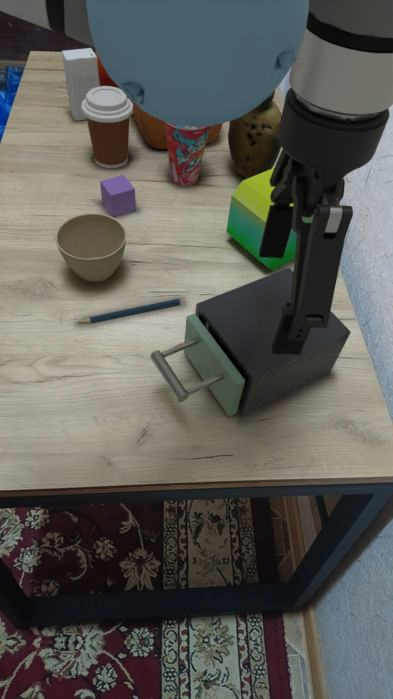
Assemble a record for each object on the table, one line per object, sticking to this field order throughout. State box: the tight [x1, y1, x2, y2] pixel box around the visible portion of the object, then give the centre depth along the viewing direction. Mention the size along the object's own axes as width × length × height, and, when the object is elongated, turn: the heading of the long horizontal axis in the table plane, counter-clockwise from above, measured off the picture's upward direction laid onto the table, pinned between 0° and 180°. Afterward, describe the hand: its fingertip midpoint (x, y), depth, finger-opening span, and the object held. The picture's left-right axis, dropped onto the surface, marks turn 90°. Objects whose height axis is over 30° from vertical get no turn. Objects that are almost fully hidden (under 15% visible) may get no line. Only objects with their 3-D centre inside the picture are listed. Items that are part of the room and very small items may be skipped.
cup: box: [165, 122, 210, 187], centre depth 88 cm, size 9×8×12 cm
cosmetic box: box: [61, 47, 101, 122], centre depth 99 cm, size 6×4×12 cm
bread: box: [127, 96, 224, 150], centre depth 97 cm, size 18×21×17 cm
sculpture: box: [227, 89, 282, 179], centre depth 86 cm, size 13×8×20 cm, turn 11°
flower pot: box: [54, 212, 127, 283], centre depth 73 cm, size 10×10×7 cm
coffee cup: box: [81, 85, 133, 169], centre depth 90 cm, size 9×9×12 cm
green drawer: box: [149, 312, 248, 417], centre depth 62 cm, size 20×11×7 cm, turn 121°
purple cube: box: [99, 174, 137, 218], centre depth 84 cm, size 4×4×4 cm
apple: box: [225, 167, 311, 271], centre depth 76 cm, size 11×10×15 cm
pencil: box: [78, 298, 181, 324], centre depth 71 cm, size 1×1×15 cm
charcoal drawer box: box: [194, 267, 352, 419], centre depth 64 cm, size 15×13×9 cm
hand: (277, 299), depth 52 cm, fingers open, 13 cm apart
